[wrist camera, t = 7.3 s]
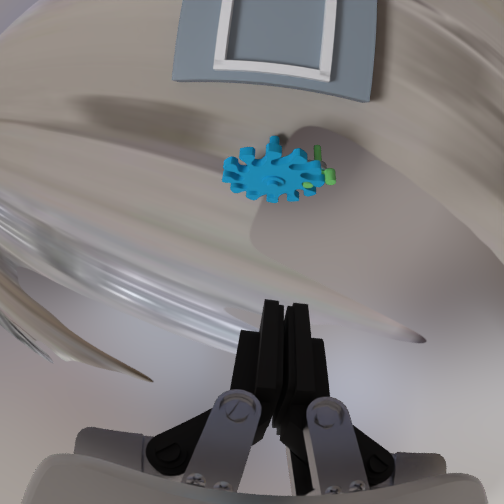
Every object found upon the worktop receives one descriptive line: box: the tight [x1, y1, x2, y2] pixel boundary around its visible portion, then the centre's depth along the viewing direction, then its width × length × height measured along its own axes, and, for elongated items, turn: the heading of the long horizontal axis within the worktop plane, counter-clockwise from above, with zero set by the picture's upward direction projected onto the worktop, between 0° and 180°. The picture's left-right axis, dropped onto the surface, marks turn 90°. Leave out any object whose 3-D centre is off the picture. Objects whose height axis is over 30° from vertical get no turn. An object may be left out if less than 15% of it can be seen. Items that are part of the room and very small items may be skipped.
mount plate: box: [172, 0, 377, 103], centre depth 19 cm, size 20×18×4 cm
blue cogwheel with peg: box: [222, 136, 336, 203], centre depth 27 cm, size 11×6×10 cm
